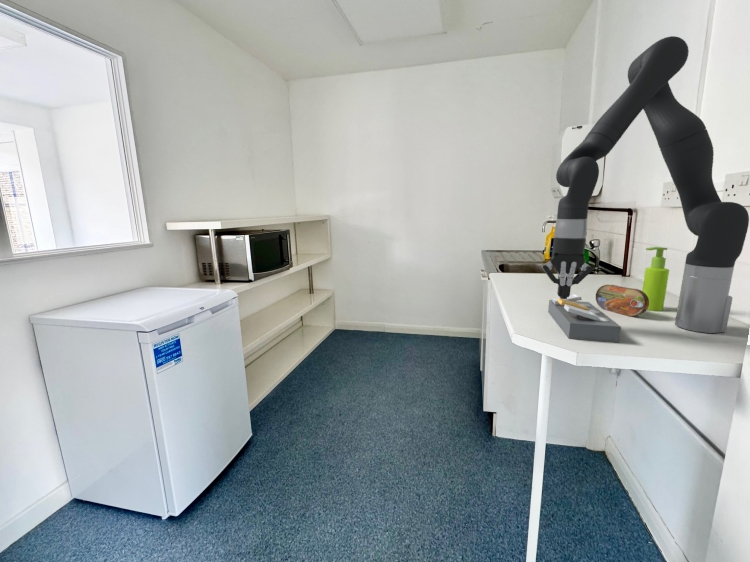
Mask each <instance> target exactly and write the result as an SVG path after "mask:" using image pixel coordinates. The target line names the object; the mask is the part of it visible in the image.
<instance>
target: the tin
mask: <svg viewBox="0 0 750 562" xmlns="http://www.w3.org/2000/svg"><path fill="white" fill-rule="evenodd" d="M595 292H596V293H595V301H596V304H597V305H598V307H599V308H600V309H602V310H604V311H608V312H612V313H616V314H621V315H623V316H628V317H636V316H641V315H642V314H644V313H646V312H647V311H648V310H647V309H648V306H649V299H648V296H647V295H646V294H645V293H644V292H643V291H642V289H638V288H634V287H633V288H632V287H626V286H621V285H615V284H603V285H601V286H600V287H598V289H597V290H596V291H595Z"/></svg>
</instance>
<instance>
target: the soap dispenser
mask: <svg viewBox="0 0 750 562" xmlns="http://www.w3.org/2000/svg"><path fill="white" fill-rule="evenodd" d="M645 250H646V251H655V250H656V253H655V256H654V257H652V258H651V261H650V262H651V264H650V266H649V267H645V269H644V270H645V271H644V277H643V283H642V289H641V291H643V292H644V293H645V294H646V295H647V296H648V299H649V306H648V309H647V310H646V311H650V312H651V311H652V312H654V311H655V312H663V310H664V305H665V300H666V294H667V293H666V292H667V287H668V280H669V274H670V269H668V268H666V267H665V266H666V260H667V258H666V257H664V251H667V250H668V247H660V246H650V247H646V248H645Z"/></svg>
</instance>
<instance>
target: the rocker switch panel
mask: <svg viewBox="0 0 750 562" xmlns="http://www.w3.org/2000/svg"><path fill="white" fill-rule="evenodd" d="M573 302H574V303H578V304H581V305H585V306H586V307H587V308H588V309H589V311H590V312H593V313H594V314H596V315H597V316H598V319H597V320H594V319H590V318H587V317H584V316H580V315H577V314H574V313H570V312H568V311H567V310H566V309H565V308H564V305H561V304H556V305H555V304H554V303H553V301H552V299H549V300H548V309H547V313H548V314H549V316H551V318H552V320H554V321H555V323H556V324H557V325H558V327H559V328H560V330H562V331H561V332H563V333H564V335H565V336H566V337H567V338H568V339H571V340H584V341H585V340H586V341H594V342H596V341H597V342H608V343H620V337H621V329H622V326H621V325H619V324H618V322H616V321H614V320H613V319H612V318H611V317H610V316H608V315H606V314H605V313H604V312H603V311H602V310H600V309H599V308H597V307H596V306H595V305H593V304H592V303H591V302H589V301H582V300H579V301H573Z"/></svg>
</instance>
